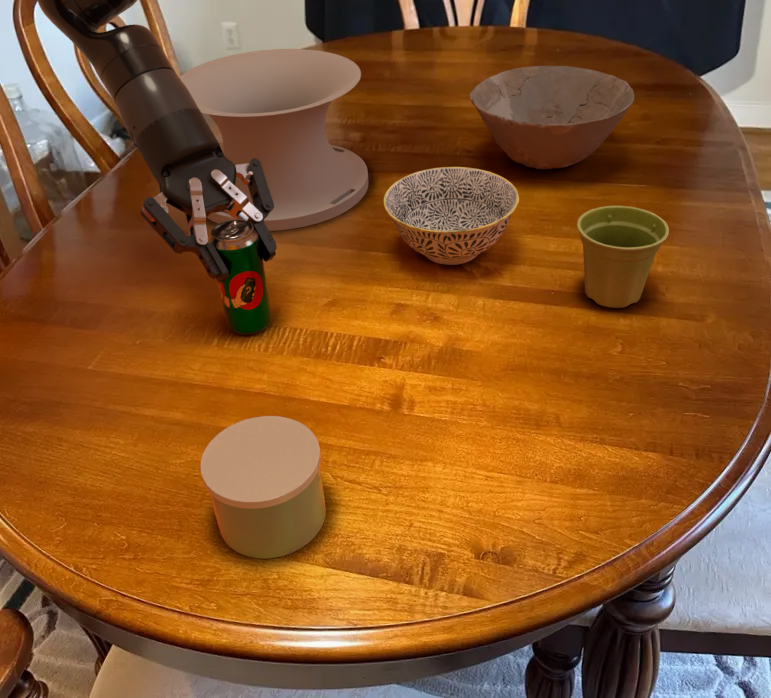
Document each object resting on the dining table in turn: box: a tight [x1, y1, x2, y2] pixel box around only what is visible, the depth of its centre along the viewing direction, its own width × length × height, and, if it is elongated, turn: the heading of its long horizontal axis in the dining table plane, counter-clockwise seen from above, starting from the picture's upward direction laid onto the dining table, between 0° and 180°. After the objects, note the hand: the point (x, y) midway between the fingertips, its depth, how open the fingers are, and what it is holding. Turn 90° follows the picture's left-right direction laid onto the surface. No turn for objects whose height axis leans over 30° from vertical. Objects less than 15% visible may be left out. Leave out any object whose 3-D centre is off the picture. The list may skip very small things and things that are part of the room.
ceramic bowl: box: [469, 65, 635, 170], centre depth 115 cm, size 22×23×10 cm
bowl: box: [382, 166, 520, 266], centre depth 97 cm, size 16×16×8 cm
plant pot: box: [576, 205, 670, 309], centre depth 87 cm, size 9×9×9 cm
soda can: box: [208, 219, 273, 336], centre depth 85 cm, size 5×5×12 cm
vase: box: [178, 48, 370, 232], centre depth 110 cm, size 25×25×16 cm
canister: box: [199, 415, 327, 559], centre depth 65 cm, size 9×9×7 cm
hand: (248, 267), depth 83 cm, fingers closed on soda can, 5 cm apart
